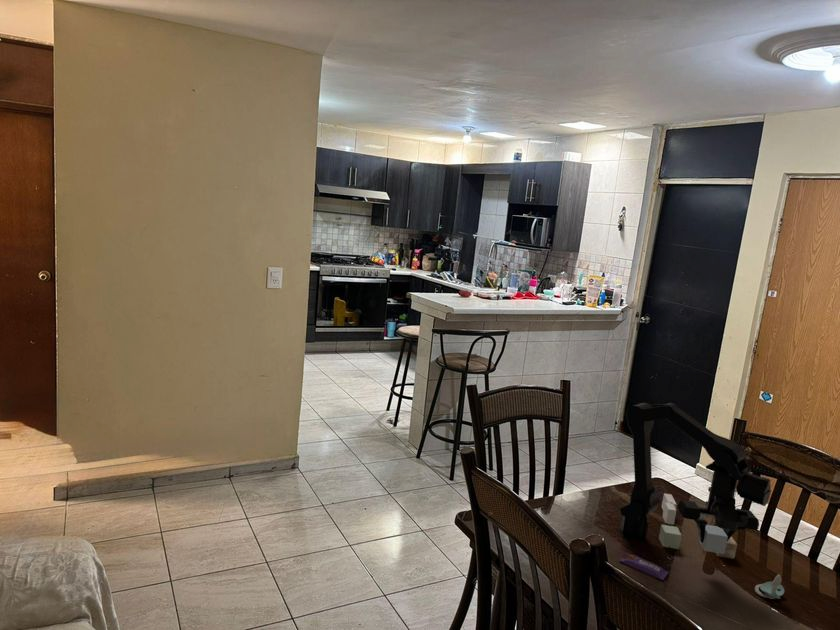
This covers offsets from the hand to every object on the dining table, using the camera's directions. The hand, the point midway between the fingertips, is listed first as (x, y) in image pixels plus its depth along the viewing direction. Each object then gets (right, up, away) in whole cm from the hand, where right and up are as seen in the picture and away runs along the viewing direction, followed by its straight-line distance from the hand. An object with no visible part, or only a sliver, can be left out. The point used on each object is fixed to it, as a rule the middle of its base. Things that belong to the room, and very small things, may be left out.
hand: (711, 543), depth 155 cm
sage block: (-6, -5, +13) cm, 15 cm away
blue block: (0, -1, 0) cm, 1 cm away
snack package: (-19, -7, 0) cm, 20 cm away
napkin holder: (0, -4, +30) cm, 30 cm away
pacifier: (+11, -11, -7) cm, 17 cm away
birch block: (+9, -7, +11) cm, 16 cm away
